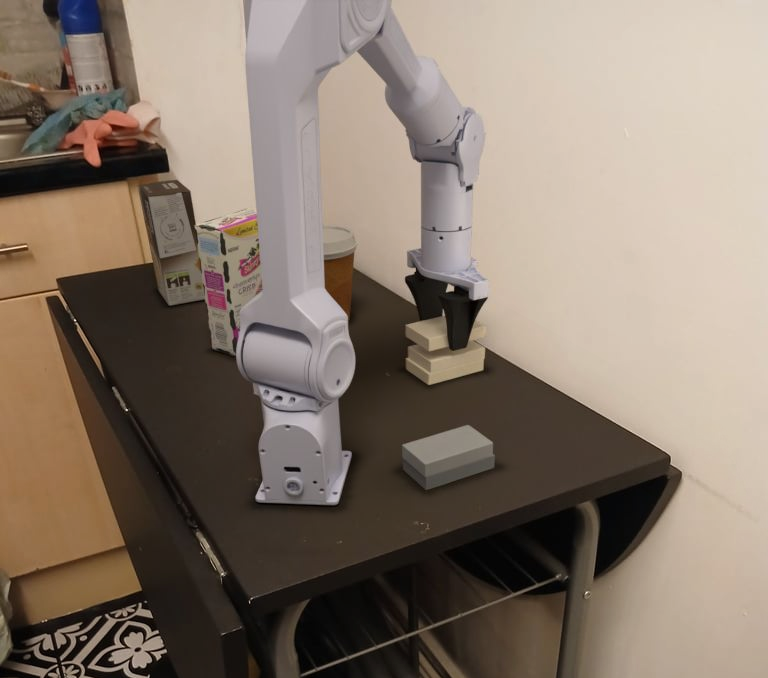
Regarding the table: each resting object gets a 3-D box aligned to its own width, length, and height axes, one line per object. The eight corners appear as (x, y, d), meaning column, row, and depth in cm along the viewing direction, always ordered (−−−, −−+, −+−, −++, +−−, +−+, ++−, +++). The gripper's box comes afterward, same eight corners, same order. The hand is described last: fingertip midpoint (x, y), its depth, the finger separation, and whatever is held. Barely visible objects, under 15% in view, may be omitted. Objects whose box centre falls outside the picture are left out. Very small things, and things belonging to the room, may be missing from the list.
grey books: (469, 448, 82) (470, 423, 81) (494, 467, 79) (496, 441, 77) (401, 470, 79) (401, 444, 77) (425, 491, 76) (425, 464, 74)
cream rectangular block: (460, 322, 100) (460, 311, 99) (485, 337, 96) (486, 325, 95) (405, 336, 97) (405, 324, 96) (429, 351, 92) (428, 339, 92)
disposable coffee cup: (336, 336, 108) (331, 248, 102) (281, 324, 113) (272, 239, 106) (373, 314, 115) (370, 229, 108) (320, 303, 119) (313, 221, 112)
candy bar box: (239, 358, 103) (220, 230, 94) (211, 350, 106) (190, 224, 96) (293, 330, 111) (281, 208, 101) (266, 323, 113) (252, 204, 104)
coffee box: (209, 299, 122) (192, 190, 113) (168, 307, 120) (147, 196, 111) (195, 282, 129) (177, 178, 120) (156, 289, 127) (135, 183, 118)
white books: (459, 355, 102) (460, 332, 100) (484, 370, 98) (485, 347, 96) (405, 369, 99) (405, 346, 97) (428, 385, 95) (428, 362, 93)
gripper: (514, 234, 85) (507, 353, 92) (442, 206, 95) (440, 315, 103) (459, 245, 82) (456, 366, 90) (391, 215, 93) (393, 326, 100)
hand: (444, 340), depth 96 cm, fingers closed on cream rectangular block, 5 cm apart
